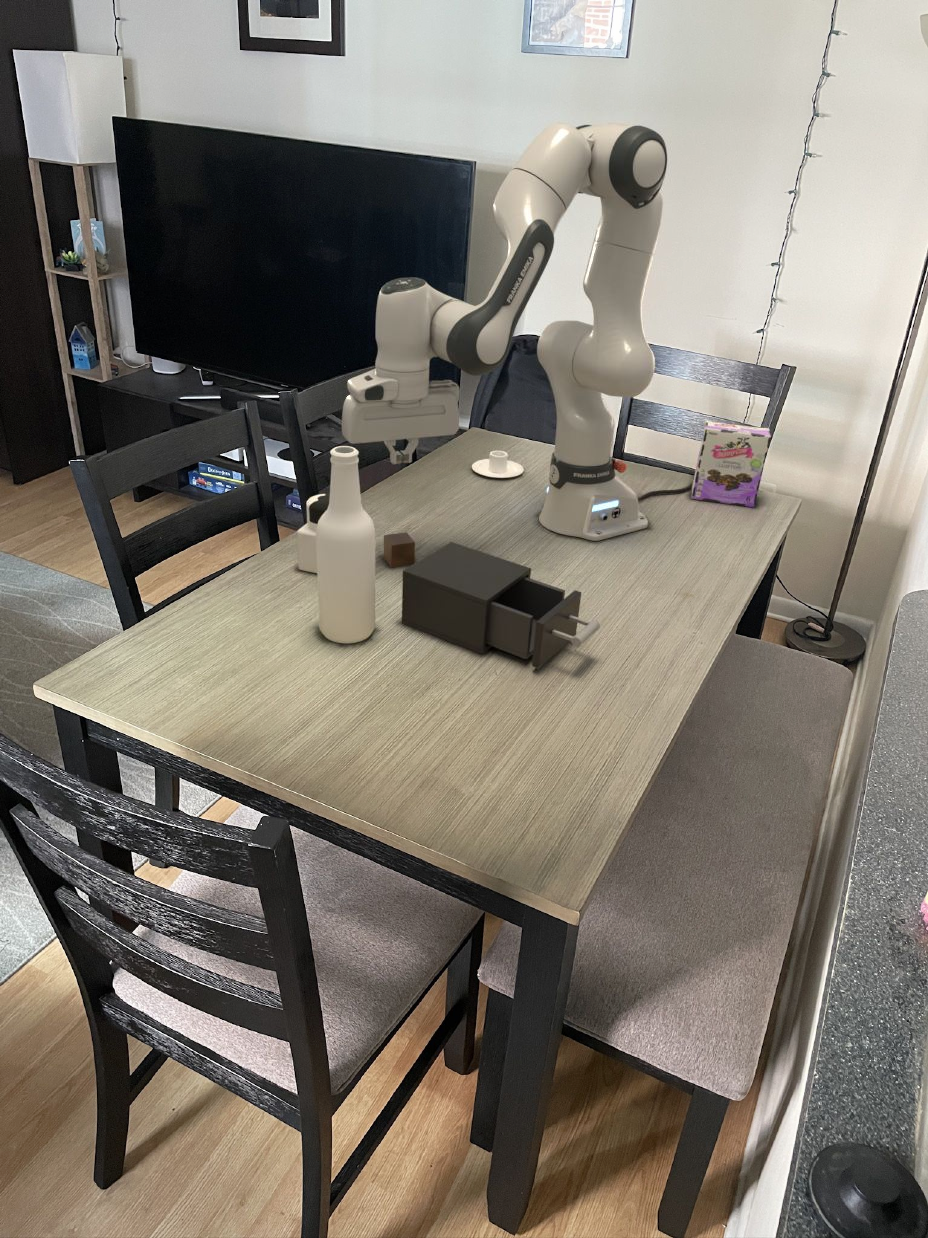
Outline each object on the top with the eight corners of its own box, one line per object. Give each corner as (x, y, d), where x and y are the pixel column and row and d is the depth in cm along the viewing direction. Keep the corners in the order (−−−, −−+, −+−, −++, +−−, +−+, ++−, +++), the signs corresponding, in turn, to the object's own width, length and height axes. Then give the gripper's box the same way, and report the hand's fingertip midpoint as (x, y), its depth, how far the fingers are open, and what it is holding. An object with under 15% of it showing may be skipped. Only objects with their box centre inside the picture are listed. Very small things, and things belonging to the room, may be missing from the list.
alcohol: (385, 636, 141) (386, 455, 126) (334, 650, 137) (329, 464, 121) (359, 612, 147) (358, 436, 132) (310, 624, 143) (303, 444, 128)
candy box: (690, 499, 197) (704, 427, 189) (691, 489, 202) (704, 419, 194) (754, 508, 195) (771, 435, 187) (753, 498, 200) (770, 427, 192)
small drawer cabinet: (526, 619, 148) (531, 568, 143) (482, 654, 138) (486, 600, 133) (448, 591, 155) (450, 541, 150) (401, 622, 145) (402, 570, 140)
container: (355, 560, 163) (355, 494, 157) (337, 578, 157) (335, 510, 150) (317, 552, 165) (315, 487, 159) (297, 570, 159) (294, 502, 152)
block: (406, 554, 167) (406, 532, 164) (414, 564, 163) (415, 542, 161) (383, 557, 165) (383, 534, 163) (391, 567, 161) (391, 545, 159)
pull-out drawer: (604, 645, 140) (611, 601, 136) (568, 680, 131) (574, 635, 127) (498, 607, 149) (502, 565, 145) (457, 637, 140) (460, 594, 136)
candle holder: (474, 459, 212) (475, 442, 210) (524, 464, 211) (526, 446, 209) (469, 478, 202) (470, 459, 199) (522, 482, 201) (523, 464, 199)
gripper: (453, 374, 154) (449, 450, 161) (337, 381, 146) (339, 461, 153) (467, 384, 149) (463, 462, 156) (348, 392, 141) (350, 474, 148)
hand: (400, 462), depth 154 cm, fingers closed
